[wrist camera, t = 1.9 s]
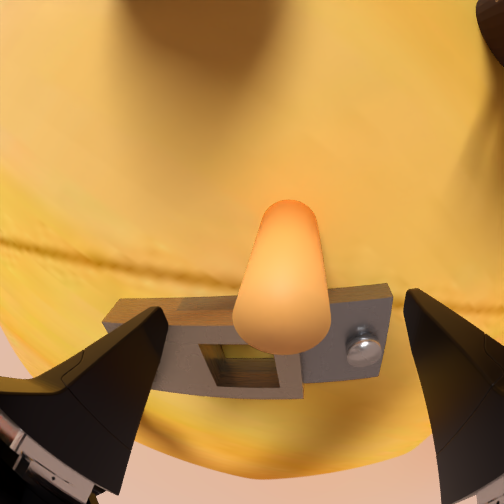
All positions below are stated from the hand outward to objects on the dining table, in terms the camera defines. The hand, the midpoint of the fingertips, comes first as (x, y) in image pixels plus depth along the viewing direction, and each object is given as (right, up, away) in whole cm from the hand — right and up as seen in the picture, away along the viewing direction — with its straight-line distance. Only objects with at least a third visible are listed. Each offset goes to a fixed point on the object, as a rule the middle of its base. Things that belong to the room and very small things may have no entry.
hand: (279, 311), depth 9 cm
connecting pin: (+1, +3, +6) cm, 7 cm away
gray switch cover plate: (-4, -5, +12) cm, 13 cm away
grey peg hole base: (+2, -4, +10) cm, 11 cm away
